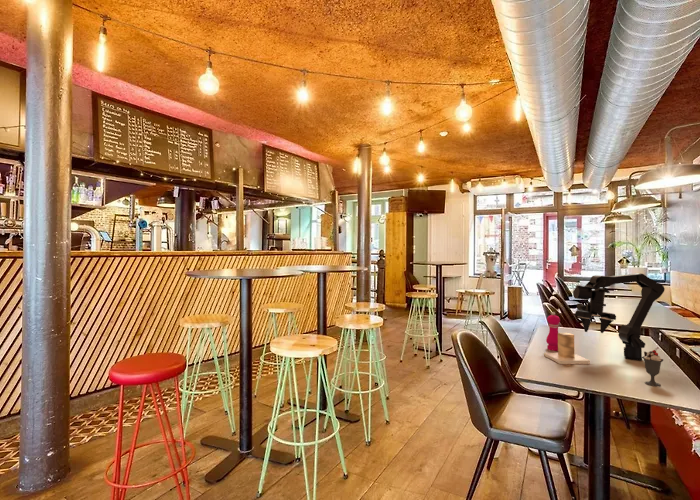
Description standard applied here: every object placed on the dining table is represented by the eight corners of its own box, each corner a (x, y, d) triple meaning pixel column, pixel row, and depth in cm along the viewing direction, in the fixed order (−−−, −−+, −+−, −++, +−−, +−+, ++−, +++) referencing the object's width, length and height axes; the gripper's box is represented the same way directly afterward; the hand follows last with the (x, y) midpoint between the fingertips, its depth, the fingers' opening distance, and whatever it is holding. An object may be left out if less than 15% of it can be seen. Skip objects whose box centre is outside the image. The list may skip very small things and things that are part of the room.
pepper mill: (563, 351, 193) (563, 313, 194) (548, 350, 195) (548, 313, 195) (558, 348, 201) (558, 311, 201) (544, 347, 202) (544, 310, 202)
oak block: (568, 354, 182) (567, 332, 182) (574, 357, 177) (574, 334, 177) (558, 355, 181) (557, 332, 181) (564, 358, 176) (564, 335, 176)
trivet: (571, 355, 186) (571, 352, 186) (590, 363, 172) (589, 360, 172) (544, 355, 186) (544, 352, 186) (560, 364, 172) (560, 360, 172)
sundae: (665, 388, 140) (665, 349, 140) (643, 385, 144) (642, 346, 144) (662, 383, 146) (661, 345, 146) (640, 380, 149) (640, 343, 150)
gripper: (598, 299, 192) (595, 329, 192) (568, 297, 188) (565, 327, 188) (618, 303, 181) (615, 334, 181) (586, 300, 177) (582, 332, 177)
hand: (593, 332), depth 182 cm, fingers open, 9 cm apart
